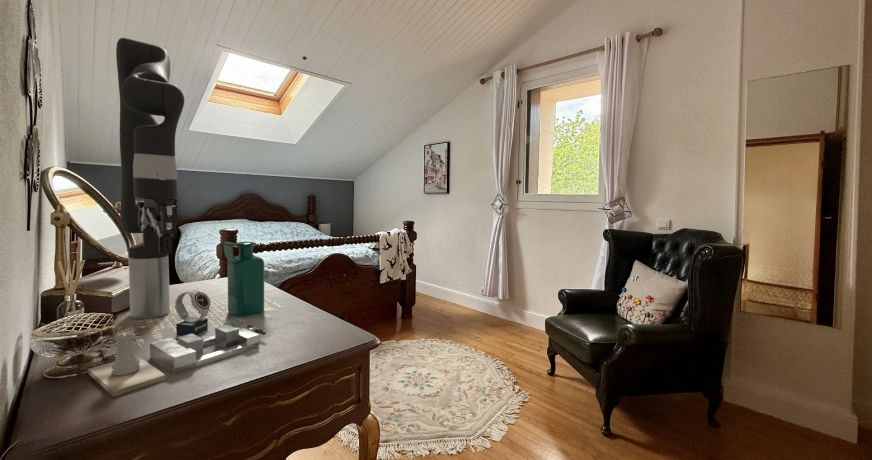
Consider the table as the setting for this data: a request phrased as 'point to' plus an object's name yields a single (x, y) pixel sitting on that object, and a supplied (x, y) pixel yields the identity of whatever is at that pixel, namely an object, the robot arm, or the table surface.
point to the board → (126, 378)
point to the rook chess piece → (125, 354)
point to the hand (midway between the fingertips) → (157, 250)
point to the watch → (192, 323)
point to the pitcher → (244, 280)
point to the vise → (191, 347)
